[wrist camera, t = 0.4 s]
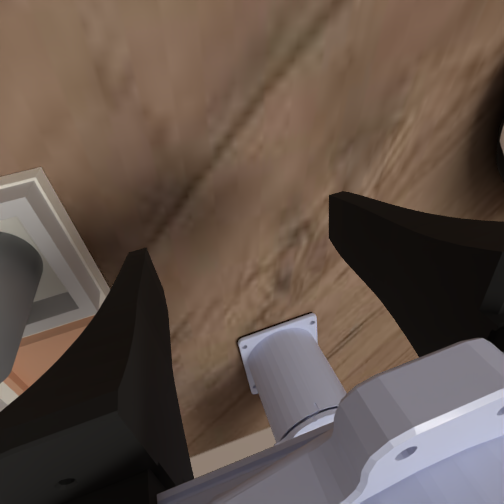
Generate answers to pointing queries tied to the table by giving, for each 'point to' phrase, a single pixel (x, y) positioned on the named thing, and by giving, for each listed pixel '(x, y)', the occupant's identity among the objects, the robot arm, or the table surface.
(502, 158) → the milk container
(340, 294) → the table surface
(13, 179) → the white cylinder holder tray
